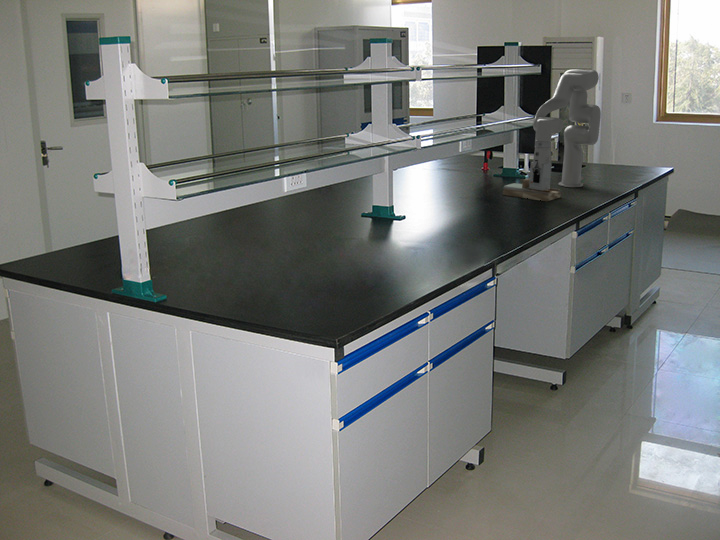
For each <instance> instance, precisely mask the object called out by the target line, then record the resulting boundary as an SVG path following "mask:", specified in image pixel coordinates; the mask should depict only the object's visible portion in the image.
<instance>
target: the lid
mask: <svg viewBox="0 0 720 540" xmlns="http://www.w3.org/2000/svg"><path fill="white" fill-rule="evenodd" d="M529 181H530V177H529V178H525V179H522V183H518V184H516V183H515V182H514V183H509V184H506V185H503V188H504V187H505V186H506V187H513V188H519V189H526V190H530V188H529Z"/></svg>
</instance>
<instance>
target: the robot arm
mask: <svg viewBox="0 0 720 540" xmlns="http://www.w3.org/2000/svg"><path fill="white" fill-rule="evenodd" d="M599 77H600V75H599V73H598V71H596V70H595V69H581V68H580V69H578V68H577V69H576V68H573V69H567V70H566V71H564V73H563V74H561V76H560V78H559V80H558V81H557V82H558V83H557V85H556V87H555V89H554V92H553V94H552V96H551V98H550V99H548V100H547V101H545V103H543V104H542V105H541V106H540V107H539V108H538V110H537V111H536V114H535V117H534V120H533V122H532V126H533V127H532V128H533V130H534V132H535V138H534V153H533V160H532V162H533V166H532V170H533V182H534V183H539V180H540V175H539V173H540V169H543V164H545V163H552V147H551V146H552V134H559V133H561V132H562V130H563V129H564V131H563V142H564V149H563V163H562V173H561V181H559V182H558V183H557V184H558V186H561V187H566V188H581V187H583V186H584V183H583V182H581V181H582V180H583V179H584V177H583V176H582V165H583V155H584V153H583V149H582V147H581V145H584V146H593V145H596V144H597V142H598V140H599V135H600V124H601V115H602V111H601V108H600V107H599V106H598V105H597V104H590V103H589V104H588V90H591V89H593V88H595V87H596V86H597V84H598V83H599ZM568 105H569V107H568V119H569V121H570V122H572V123H578V124H579V123H580V124H582V125H580V124H579V125H578V124H570V125H567V126H566V127H565V126H564V120H563V119H561V118H559V117H550V116H548V114H550V113H552V112H554V111H557V110H561V109H562V108H565V107H567V106H568ZM583 124H588V125H583ZM564 127H565V128H564ZM536 167H539V168H536ZM537 170H538V171H537Z"/></svg>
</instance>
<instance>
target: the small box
mask: <svg viewBox="0 0 720 540" xmlns="http://www.w3.org/2000/svg"><path fill="white" fill-rule="evenodd" d="M552 165H553V162H551V163H545V164H543V169H540V173H539V175H540V180H539V183H534V182H533V170H532V166H533V161H531V162H530V168H529V171H530V172H529V178H530V181H529V188H530V189H536V190H541V191H543V190H548V189H550V188H551V177H552V176H551V175H552ZM536 168H539V167H536ZM537 171H538V170H537Z"/></svg>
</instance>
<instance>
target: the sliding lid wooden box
mask: <svg viewBox="0 0 720 540" xmlns="http://www.w3.org/2000/svg"><path fill="white" fill-rule="evenodd" d="M516 184H519V183H516ZM504 186H505V185H504ZM504 186H503V188H502V190H503V191H502V195H503V196H508V197H515V198H520V199H521V198H522V199H527V198H528V200H533V201H540V200H541V201H540V202H550V201H553V200H557V199H559V198H561V194H562V191H561V189H560V188H555V187H554V188H552V187H550V189H548V190H543V191H541V190H536V189H530V190H526V189H519V188H513V187H506V186H505V187H504Z"/></svg>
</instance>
